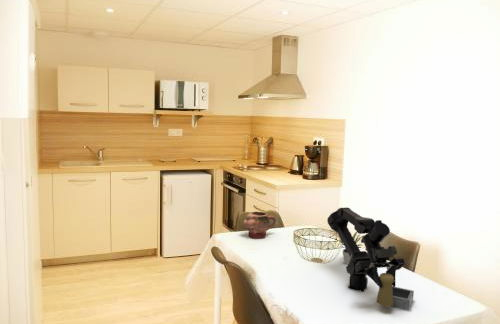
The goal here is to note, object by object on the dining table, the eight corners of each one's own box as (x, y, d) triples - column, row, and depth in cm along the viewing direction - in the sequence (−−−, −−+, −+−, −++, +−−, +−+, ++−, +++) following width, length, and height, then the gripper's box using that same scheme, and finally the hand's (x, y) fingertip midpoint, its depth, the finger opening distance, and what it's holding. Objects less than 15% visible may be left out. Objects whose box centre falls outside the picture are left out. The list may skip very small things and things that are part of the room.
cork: (389, 299, 156) (391, 271, 155) (396, 306, 150) (398, 277, 149) (374, 299, 156) (375, 271, 154) (379, 306, 150) (381, 277, 148)
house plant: (364, 259, 207) (366, 227, 205) (369, 269, 193) (371, 235, 191) (335, 257, 208) (337, 226, 206) (338, 267, 195) (340, 234, 193)
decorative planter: (269, 231, 251) (270, 209, 249) (279, 237, 240) (280, 214, 238) (239, 235, 242) (240, 212, 241) (248, 241, 231) (249, 217, 230)
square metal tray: (381, 304, 158) (381, 294, 157) (386, 294, 166) (387, 285, 166) (409, 311, 153) (409, 300, 152) (413, 300, 161) (413, 290, 161)
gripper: (360, 239, 152) (374, 280, 142) (404, 237, 156) (421, 276, 147) (348, 253, 160) (361, 292, 151) (391, 250, 165) (406, 288, 155)
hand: (388, 287), depth 151 cm, fingers closed on cork, 5 cm apart
